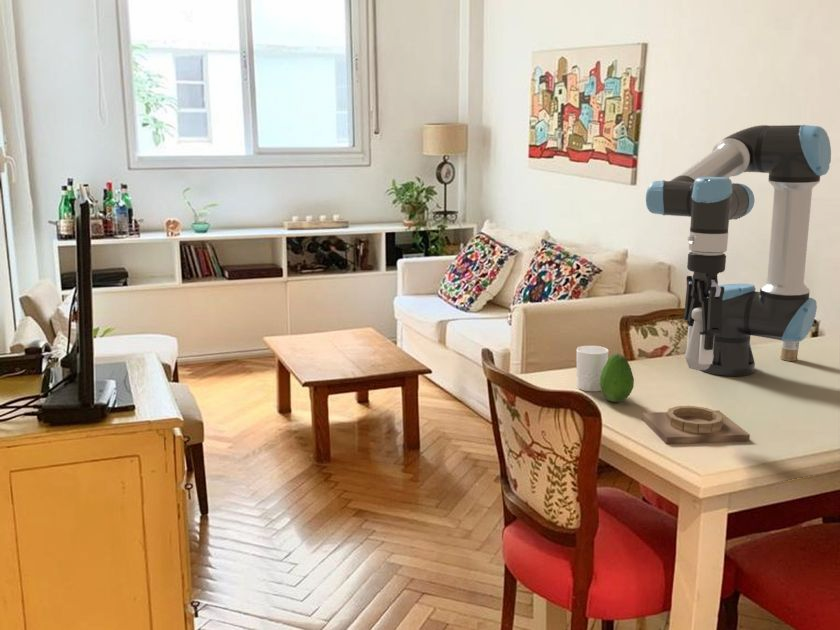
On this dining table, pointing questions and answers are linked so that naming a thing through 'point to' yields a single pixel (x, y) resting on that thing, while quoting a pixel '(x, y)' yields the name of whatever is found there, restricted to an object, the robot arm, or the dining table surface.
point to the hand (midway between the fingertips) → (698, 359)
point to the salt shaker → (695, 342)
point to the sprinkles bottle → (789, 350)
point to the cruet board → (694, 437)
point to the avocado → (616, 379)
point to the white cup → (590, 367)
